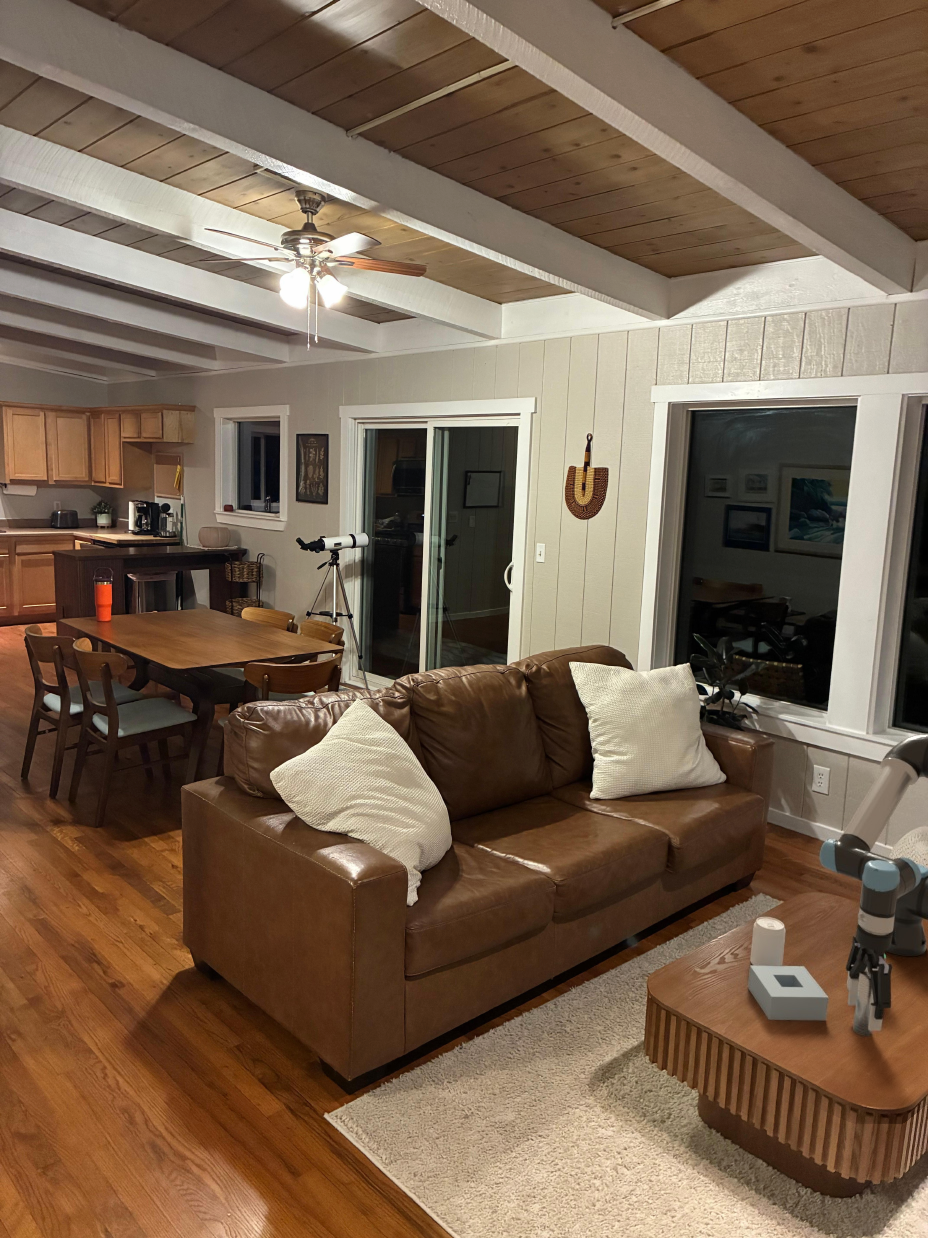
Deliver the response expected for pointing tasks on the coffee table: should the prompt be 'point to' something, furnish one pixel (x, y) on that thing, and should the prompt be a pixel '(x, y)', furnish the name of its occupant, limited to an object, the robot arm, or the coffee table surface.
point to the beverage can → (768, 942)
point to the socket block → (787, 993)
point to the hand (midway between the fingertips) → (863, 1017)
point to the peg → (863, 1004)
